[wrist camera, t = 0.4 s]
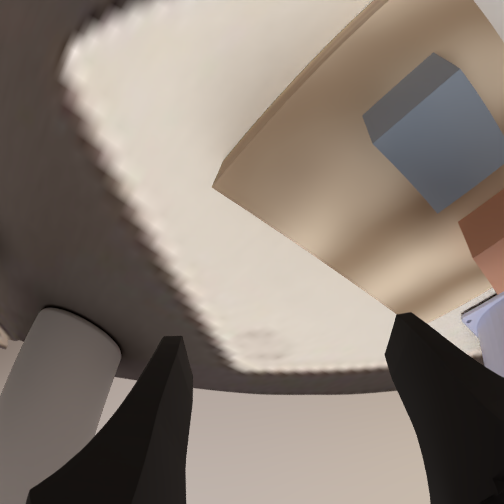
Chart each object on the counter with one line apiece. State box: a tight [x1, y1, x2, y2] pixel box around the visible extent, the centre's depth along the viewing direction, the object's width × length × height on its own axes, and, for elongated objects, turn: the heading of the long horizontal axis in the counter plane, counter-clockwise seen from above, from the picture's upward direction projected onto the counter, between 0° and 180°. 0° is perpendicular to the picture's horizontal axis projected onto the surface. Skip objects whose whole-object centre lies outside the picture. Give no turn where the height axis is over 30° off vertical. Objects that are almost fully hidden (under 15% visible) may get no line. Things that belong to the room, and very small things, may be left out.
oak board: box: [212, 0, 504, 323], centre depth 14 cm, size 17×14×2 cm
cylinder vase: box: [0, 308, 121, 504], centre depth 29 cm, size 12×12×25 cm
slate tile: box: [362, 52, 504, 214], centre depth 10 cm, size 4×4×2 cm
